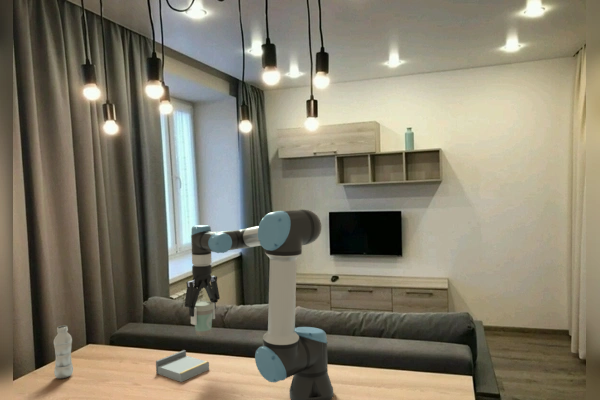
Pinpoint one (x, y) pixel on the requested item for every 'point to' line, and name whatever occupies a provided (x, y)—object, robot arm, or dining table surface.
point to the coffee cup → (204, 317)
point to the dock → (180, 366)
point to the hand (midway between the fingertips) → (203, 321)
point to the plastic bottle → (63, 353)
